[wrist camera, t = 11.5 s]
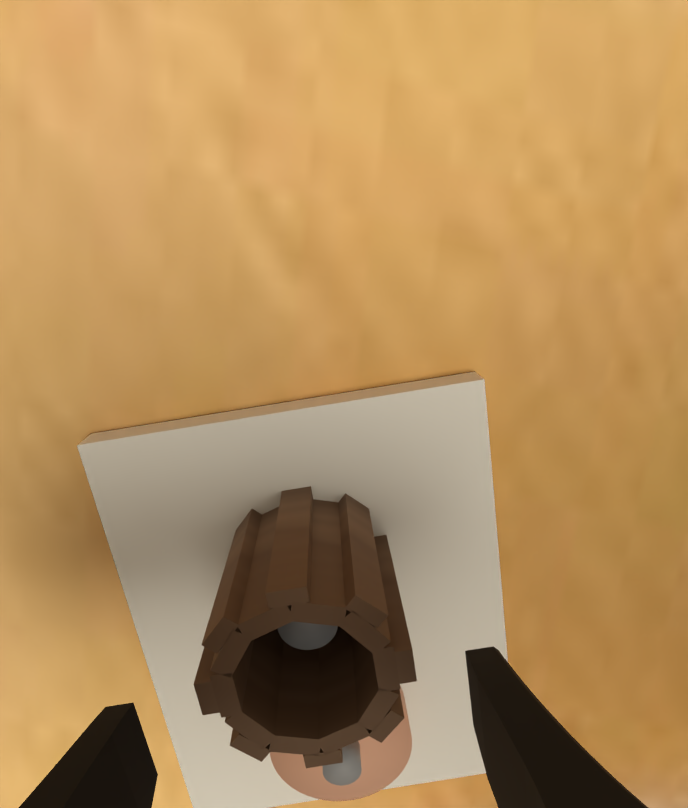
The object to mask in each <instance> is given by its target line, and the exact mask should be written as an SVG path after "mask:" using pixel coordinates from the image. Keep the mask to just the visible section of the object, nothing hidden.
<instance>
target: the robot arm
mask: <svg viewBox="0 0 688 808" xmlns="http://www.w3.org/2000/svg"><path fill="white" fill-rule="evenodd" d="M465 655H466V664H467V673H468V682H469V691H470V700H471V709H472V718H473V726H474V730H475V734H476V737H477V741H478V745H479V748H480V752H481V756H482V759H483V763H484V767H485V770H486V774H487V777H488V780H489V783H490V786H491V789H492V791H493V794H494V797H495V799H496V802H497V805H498V807H499V808H648V807H647V806H645V805H644V804H643V803H642V802H641V801H640V800H639V799H637V798H636V797H635V796H634V795H633V794H632V793H631V792H629V791H628V790H627V789H626V788H625V787H624V786H623V785H622V784H621V783H619V782H618V781H617V780H616V779H615V778H614V777H613V776H612V775H611V774H610V773H609V772H608V771H607V770H605V769H604V768H603V767H602V766H601V765H600V764H599V763H598V762H597V761H596V760H595V759H594V758H593V757H592V756H591V755H590V754H589V753H588V752H587V751H586V750H585V749H584V748H583V747H582V746H581V745H580V744H579V743H578V742H577V741H576V740H575V739H574V738H573V737H572V736H571V735H570V734H569V733H568V732H567V731H566V730H565V728H564V727H563V726H562V725H561V724H560V723H559V722H558V721H557V720H556V719H555V718H554V717H553V715H552V714H551V713H550V712H549V711H548V710H547V709H546V708H545V707H544V706H543V705H542V703H541V702H540V701H539V700H538V699H537V698H536V697H535V695H534V694H533V693H532V692H531V691H530V689H529V688H528V687H527V686H526V685H525V684H524V682H523V681H522V680H521V679H520V677H519V676H518V675H517V674H516V672H515V671H514V670H513V669H512V667H511V666H510V665H509V663H508V662H507V661H506V659H505V658H504V657H503V655H502V654H501V653H500V651H499V650H498V649H496V648H495V647H494V646H493V647H486V648H480V649H473V650H467V651H465ZM157 775H158V774H157V771H156V768H155V765H154V762H153V760H152V757H151V754H150V751H149V748H148V745H147V742H146V739H145V736H144V733H143V730H142V727H141V724H140V721H139V718H138V715H137V712H136V709H135V706H134V703H128V704H122V705H115V706H109V707H105V708H104V709H103V710H102V712H101V713H100V714H99V715H98V716H97V717H96V718H95V719H94V721H93V722H92V723H91V724H90V725H89V726H88V728H87V729H86V730H85V731H84V732H83V734H82V735H81V736H80V737H79V738H78V739H77V741H76V742H75V743H74V744H73V745H72V747H71V748H70V749H69V750H68V751H67V752H66V754H65V755H64V756H63V757H62V758H61V760H60V761H59V762H58V763H57V764H56V765H55V767H54V768H53V769H52V770H51V771H50V772H49V773H48V775H47V776H46V777H45V778H44V779H43V780H42V782H41V783H40V784H39V785H38V786H37V787H36V789H35V790H34V791H33V792H32V793H31V794H30V795H29V797H28V798H27V799H26V800H25V801H24V802H23V803H22V805H21V806H20V807H19V808H151V807H152V802H153V796H154V791H155V786H156V780H157Z"/></svg>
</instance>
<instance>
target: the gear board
mask: <svg viewBox="0 0 688 808" xmlns="http://www.w3.org/2000/svg"><path fill="white" fill-rule="evenodd" d="M77 447H78V450H79V453H80V457H81V460H82V463H83V466H84V469H85V472H86V475H87V478H88V482H89V485H90V488H91V491H92V494H93V497H94V500H95V503H96V506H97V510H98V513H99V516H100V519H101V522H102V525H103V528H104V531H105V534H106V538H107V541H108V544H109V547H110V550H111V553H112V556H113V559H114V562H115V566H116V569H117V572H118V575H119V578H120V581H121V584H122V587H123V590H124V594H125V597H126V600H127V603H128V606H129V609H130V612H131V615H132V618H133V622H134V625H135V628H136V631H137V634H138V637H139V640H140V643H141V647H142V650H143V653H144V656H145V659H146V662H147V665H148V668H149V671H150V675H151V678H152V681H153V684H154V687H155V690H156V693H157V696H158V699H159V703H160V706H161V709H162V712H163V715H164V718H165V721H166V724H167V727H168V731H169V734H170V737H171V740H172V743H173V746H174V749H175V752H176V755H177V759H178V762H179V765H180V768H181V771H182V774H183V777H184V780H185V784H186V787H187V790H188V793H189V796H190V799H191V802H192V805H193V808H269V807H275V806H282V805H288V804H294V803H300V802H307V801H313V800H319V799H321V800H328V801H347V800H354V799H359V798H363V797H366V796H369V795H371V794H374V793H376V792H378V791H380V790H383V789H389V788H395V787H402V786H408V785H414V784H421V783H427V782H433V781H440V780H446V779H452V778H459V777H465V776H471V775H478V774H484V773H486V770H485V767H484V763H483V759H482V756H481V752H480V748H479V745H478V741H477V737H476V734H475V730H474V726H473V718H472V709H471V700H470V691H469V682H468V673H467V664H466V655H465V651H467V650H473V649H480V648H486V647H493V646H494V647H495V648H496V649H498V650H499V651H500V653H501V654H502V655H503V657H504V658H505V659H506V661H507V662H508V657H507V645H506V633H505V621H504V609H503V597H502V585H501V573H500V561H499V549H498V537H497V525H496V513H495V501H494V489H493V476H492V464H491V452H490V440H489V428H488V416H487V404H486V392H485V380H484V379H483V378H482V377H481V376H480V375H479V374H477V373H476V372H469V373H463V374H457V375H451V376H444V377H438V378H432V379H426V380H420V381H413V382H407V383H401V384H395V385H389V386H383V387H376V388H370V389H364V390H358V391H352V392H346V393H339V394H333V395H327V396H321V397H315V398H308V399H302V400H296V401H290V402H284V403H278V404H271V405H265V406H259V407H253V408H247V409H241V410H234V411H228V412H222V413H216V414H210V415H204V416H197V417H191V418H185V419H179V420H173V421H166V422H160V423H154V424H148V425H142V426H136V427H129V428H123V429H117V430H111V431H105V432H99V433H92V434H90V435H89V436H88V437H86V438H85V439H84V440H83V441H81V442H80V443H79V444H78V445H77ZM309 486H311V489H312V495H313V499H316V500H324V501H332V502H339V501H340V500H341V498H342V497H343V496H344V495H345V493H346V494H347V495H349V496H350V497H352V498H354V499H355V500H357V501H358V502H360V503H361V504H363V505H364V506H366V507H367V508H369V511H370V517H371V522H372V528H373V533H374V537H375V536H382V535H387V539H388V544H389V548H390V552H391V557H392V561H393V566H394V570H395V575H396V579H397V583H398V588H399V592H400V597H401V601H402V606H403V610H404V614H405V619H406V623H407V628H408V632H409V637H410V641H411V645H412V650H413V657H414V664H415V671H416V678H417V681H416V682H409V683H403V684H400V688H401V689H400V695H401V701H402V706H403V712H404V719H403V720H402V721H401V722H400V723H399V724H398V726H397V727H396V728H395V729H394V730H393V731H392V732H391V733H390V734H389V735H388V736H387V737H386V739H385V740H384V741H383V742H382V743H381V742H379V741H377V740H375V739H373V738H371V737H370V736H368V737H366V738H364V739H361V740H359V741H357V742H354V743H352V744H350V745H347V746H345V747H343V748H342V755H343V763H337V764H331V765H324V766H318V767H312V768H306V766H305V762H304V758H303V755H302V754H290V753H279V752H270V753H269V754H268V755H267V756H266V757H265V759H264V760H263V761H262V762H261V761H259V760H257V759H255V758H253V757H251V756H249V755H247V754H245V753H243V752H241V751H239V750H237V749H235V748H233V747H231V746H230V741H231V736H232V730H233V728H232V727H230V726H229V725H228V724H226V723H225V718H226V717H223V718H221V715H220V713H215V714H208V715H202V712H201V708H200V705H199V702H198V698H197V695H196V691H195V688H194V685H193V684H194V681H195V677H196V674H197V670H198V667H199V663H200V660H201V656H202V653H203V650H204V646H202V641H203V638H204V635H205V631H206V628H207V625H208V621H209V618H210V614H211V611H212V608H213V604H214V601H215V598H216V594H217V591H218V588H219V584H220V581H221V578H222V574H223V571H224V568H225V564H226V561H227V558H228V554H229V551H230V548H231V544H232V541H233V538H234V534H235V531H236V529H237V528H238V526H239V525H240V524H241V522H242V521H243V520H244V518H245V517H246V516H247V514H248V513H249V512H250V510H251V509H254V510H255V511H257V512H259V513H260V514H264V513H266V512H269V511H271V510H273V509H275V508H277V507H279V504H280V498H281V492H282V491H284V490H291V489H297V488H303V487H309ZM337 629H338V626H331V625H321V624H312V623H303V622H291V623H288V624H286V625H284V626H282V627H280V628H278V632H279V634H280V636H281V638H282V639H283V640H284V641H285V642H286V643H287V644H289V645H290V646H292V647H294V648H297V649H301V650H313V649H317V648H320V647H323V646H324V645H326V644H328V643H329V642H330V641H331V640H332V639H333V637H334V636H335V634H336V632H337Z"/></svg>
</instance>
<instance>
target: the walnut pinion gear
mask: <svg viewBox="0 0 688 808" xmlns="http://www.w3.org/2000/svg"><path fill="white" fill-rule="evenodd" d="M291 622H303V623H312V624H321V625H331V626H338V629H337V632H336V634H335V636H334V637H333V639H332V640H331V641H330V642H329V643H328V644H326V645H324V646H323V647H320V648H317V649H313V650H301V649H297V648H294V647H292V646H290V645H289V644H287V643H286V642H285V641H284V640H283V639H282V638H281V636H280V634H279V632H278V628H280V627H282V626H284V625H286V624H288V623H291ZM202 646H204V650H203V653H202V656H201V660H200V663H199V667H198V670H197V674H196V677H195V681H194V684H193V685H194V688H195V691H196V695H197V698H198V702H199V705H200V708H201V712H202V715H208V714H215V713H220V715H221V718H223V717H226V718H225V723H226V724H228V725H229V726H230V727H232V728H233V730H232V736H231V741H230V746H231V747H233V748H235V749H237V750H239V751H241V752H243V753H245V754H247V755H249V756H251V757H253V758H255V759H257V760H259V761H261V762H262V761H263V760H264V759H265V757H266V756H267V755H268V754H269V753H270V752H279V753H290V754H302V755H303V758H304V762H305V766H306V768H312V767H318V766H324V765H331V764H337V763H343V755H342V748H343V747H345V746H347V745H350V744H352V743H354V742H357V741H359V740H361V739H364V738H366V737H368V736H370V737H371V738H373V739H375V740H377V741H379V742H381V743H382V742H383V741H384V740H385V739H386V737H387V736H388V735H389V734H390V733H391V732H392V731H393V730H394V729H395V728H396V727H397V726H398V724H399V723H400V722H401V721H402V720H403V719H404V712H403V706H402V701H401V695H400V689H401V688H400V684H403V683H409V682H416V681H417V678H416V671H415V664H414V657H413V650H412V645H411V641H410V637H409V632H408V628H407V623H406V619H405V614H404V610H403V606H402V601H401V597H400V592H399V588H398V583H397V579H396V575H395V570H394V566H393V561H392V557H391V552H390V548H389V544H388V539H387V535H382V536H375V537H374V533H373V528H372V522H371V517H370V511H369V508H367V507H366V506H364V505H363V504H361V503H360V502H358V501H357V500H355V499H354V498H352V497H350V496H349V495H347V494H346V493H345V495H344V496H343V497H342V498H341V500H340V501H339V502H332V501H324V500H316V499H313V495H312V489H311V486H309V487H303V488H297V489H291V490H284V491H282V492H281V498H280V504H279V507H277V508H275V509H273V510H271V511H269V512H266V513H264V514H260V513H259V512H257V511H255V510H254V509H251V510H250V512H249V513H248V514H247V516H246V517H245V518H244V520H243V521H242V522H241V524H240V525H239V526H238V528H237V529H236V531H235V534H234V538H233V541H232V544H231V548H230V551H229V554H228V558H227V561H226V564H225V568H224V571H223V574H222V578H221V581H220V584H219V588H218V591H217V594H216V598H215V601H214V604H213V608H212V611H211V614H210V618H209V621H208V625H207V628H206V631H205V635H204V638H203V641H202Z"/></svg>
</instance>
